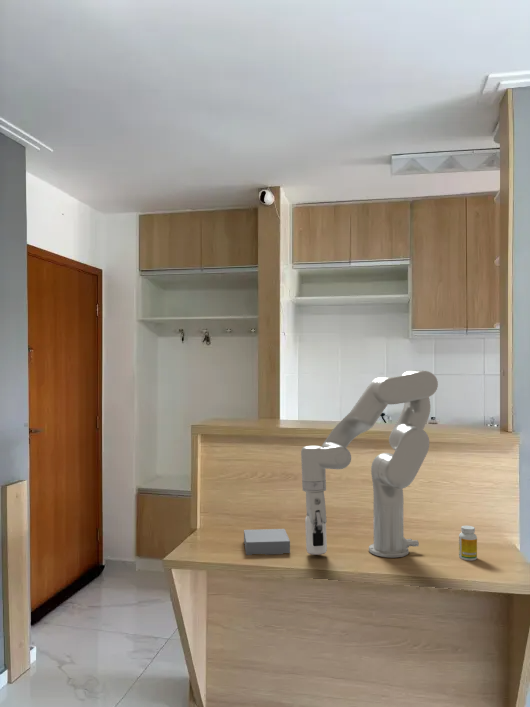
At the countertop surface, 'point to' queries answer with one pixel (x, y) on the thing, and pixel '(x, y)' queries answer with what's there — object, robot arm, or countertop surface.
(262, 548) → the base block
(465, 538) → the supplement bottle
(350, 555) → the countertop surface
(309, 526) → the can
